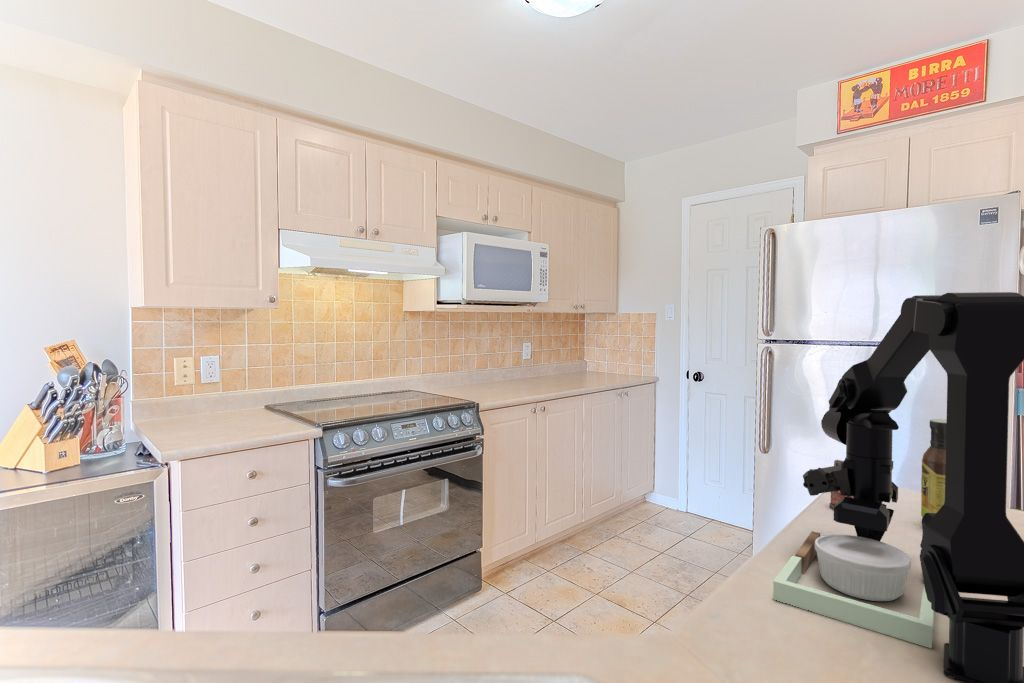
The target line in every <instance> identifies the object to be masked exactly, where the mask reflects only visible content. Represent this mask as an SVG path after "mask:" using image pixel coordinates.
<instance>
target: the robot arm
mask: <svg viewBox="0 0 1024 683" xmlns="http://www.w3.org/2000/svg"><path fill="white" fill-rule="evenodd" d="M928 352H931V353H932V355H933V356H934V358H935V359H936V360H937V362H938V363H939V364H940V366H941V368H942V369H943V370H944V372H945V373H946V376H947V377H946V378H947V379H946V380H947V381H946V383H947V384H946V385H947V386H946V390H947V391H946V420H947V423H946V469H945V502H944V505H943V506H942V507H941V508H940V509H939V511H938V512H937V513H925V514H924V516H923V518H921V528H922V537H921V542H920V544H919V545H920V548H921V549H920V553H919V562H920V568H921V573H922V579H923V580H924V583H923V584H924V585H923V587H924V589H925V592H926V594H927V599H928V601H929V602H931V609H932V610H933V611H935V613H937V614H940V615H943V616H946V618H948V619H949V620H948V621H949V622H948V625H949V626H948V627H949V628H948V629H949V630H948V642H947V643H946V642H945V643H944V644H943V671H942V672H943V674H944V675H945V676H948V677H950V678H953V679H956V680H959V681H963V682H965V683H1024V539H1023V538H1022V536H1021V535H1020V533H1019V532H1018V531H1017V529H1016V528H1015V526H1014V525H1013V524H1012V523H1011V520H1009V518H1008V516H1007V490H1008V489H1007V488H1008V487H1007V485H1008V452H1009V450H1008V449H1009V448H1008V447H1009V413H1010V412H1009V409H1010V408H1009V407H1010V406H1009V404H1010V379H1011V376H1012V375H1013V374H1014V373H1015V372H1016V371H1017V369H1018V368H1019V367H1020V365H1022V363H1023V362H1024V295H1022V294H1020V293H1019V292H1015V291H1014V292H1011V291H1000V292H999V291H997V292H995V291H990V292H984V291H983V292H980V291H979V292H946V293H943V294H942V295H941V294H936V295H932V294H930V295H928V294H927V295H913V296H911V297H907V298H905V299H904V300H903V302H902V305H901V308H900V314H899V315H898V317H897V319H896V320H895V321H894V323H893V324H892V326H891V327H890V328H889V330H888V331H887V333H886V334H885V335H884V337H883V339H881V340H880V343H878V345H877V347H876V348H875V350H874V351H873V352H872V354H871V355H870V357H869V358H868V359H866V360H864V361H863V360H862V361H860V362H857V363H856V364H852V365H851V366H850V367H849V368H848V369H847V370H846V371H845V372H844V373H843V375H842V376H841V378H840V379H839V380H838V382H837V385H836V388H835V389H834V391H833V392H832V394H831V396H830V398H829V400H828V405H829V407H828V410H827V411H826V412H825V413H824V415H823V416H822V419H821V422H820V425H821V429H822V432H824V434H825V435H826V436H827V437H828V438H831V439H833V440H835V441H836V442H838V443H841V444H842V445H845V448H846V449H845V450H846V452H845V458H844V460H842V461H843V462H842V464H841V465H840V466H834V465H833V466H826V467H818V468H815V469H813V468H809V470H806V472H805V473H803V475H802V478H803V487H804V488H806V489H807V491H808V494H809V496H818V495H819V494H825V493H831V492H834V491H839V490H840V495H843V496H852V497H853V498H849V497H844V498H843V499H841V500H840V501H838V502H837V504H836V505H835V507H834V510H833V521H835V522H836V523H840V524H843V525H849V526H853V527H854V529H855V530H854V531H855V533H856V536H858V537H864V538H869V539H873V540H877V541H880V542H881V540H882V539H883V536H884V535H885V533H886V532H888V529H889V527H890V526H889V525H890V524H891V521H892V518H893V516H894V513H895V510H894V509H892V508H888V507H887V504H885V503H889V504H890V502H892V503H895V504H896V503H898V499H899V486H897V485H896V484H895V483H894V482H893V480H892V479H893V475H892V474H893V469H894V461H893V431H897V430H899V428H900V427H899V425H898V423H897V421H896V420H895V419H893V418H892V417H891V416H890V413H891V412H892V411H895V410H897V409H898V407H900V405H901V403H902V402H903V400H904V398H905V396H906V395H907V393H908V389H907V387H906V384H905V381H906V380H907V378H908V376H909V375H910V374H911V373H912V371H913V370H914V369H916V367H917V366H918V364H919V363H920V362H921V361H922V359H924V357H926V355H927V354H928ZM883 502H884V503H883ZM923 580H922V581H923ZM960 593H963V594H974V595H985V596H986V595H987V596H997V597H998V596H999V597H1007V600H1005V599H1004V600H1003V599H990V598H980V597H979V598H978V597H969V596H968V597H966V596H961V595H960Z"/></svg>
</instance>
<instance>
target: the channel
mask: <svg viewBox="0 0 1024 683" xmlns="http://www.w3.org/2000/svg"><path fill="white" fill-rule="evenodd" d="M818 537H821V532H818V531H811V532H810V533H809V535H808V536H807V538H806V539H805V540H804V542H803V543H802V545H801V546H800V547H799V549H798V550H797V552H796V553H795V554H794V556H797V557H801V558H802V560H801V574H802V575H805V573H806V571H807V570H808V568H809V567H810V565H811V564H812V561H813V560H814V559H815V557H816V556H817V551H816V550H815V540H816V539H817V538H818ZM922 583H923V584H924V580H922Z"/></svg>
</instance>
